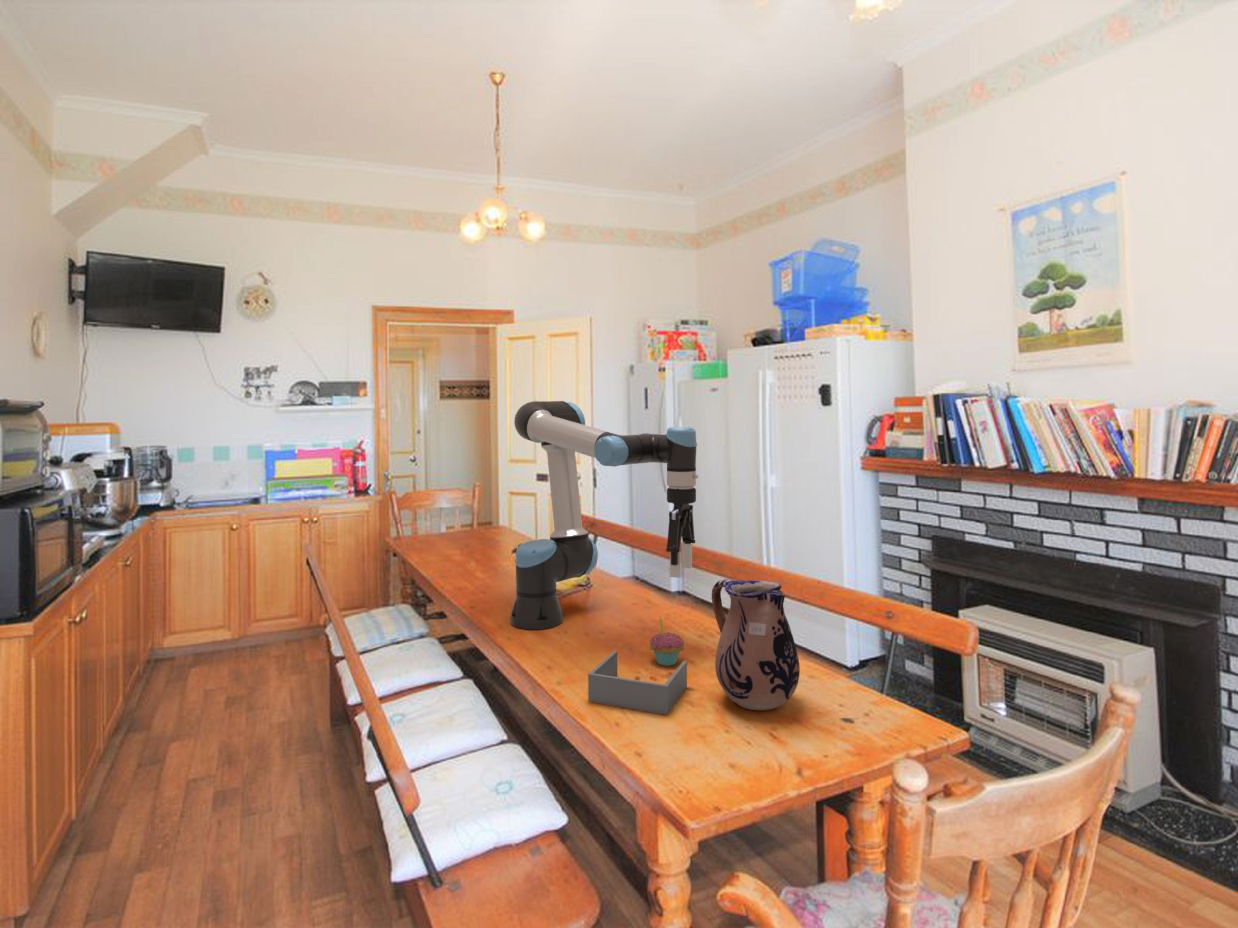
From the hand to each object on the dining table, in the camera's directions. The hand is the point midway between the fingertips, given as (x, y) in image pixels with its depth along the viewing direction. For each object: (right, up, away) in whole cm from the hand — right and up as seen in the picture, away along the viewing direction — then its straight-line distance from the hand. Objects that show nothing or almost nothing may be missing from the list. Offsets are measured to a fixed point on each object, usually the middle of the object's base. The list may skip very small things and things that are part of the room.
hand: (681, 572), depth 175 cm
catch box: (-12, -22, -28) cm, 38 cm away
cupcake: (-4, -21, -9) cm, 23 cm away
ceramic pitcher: (+12, -23, -31) cm, 40 cm away
